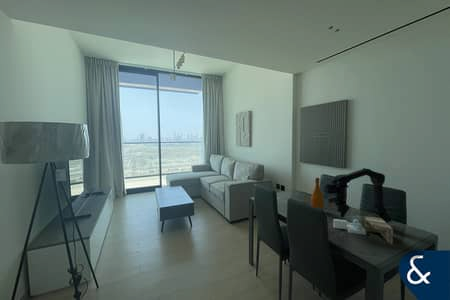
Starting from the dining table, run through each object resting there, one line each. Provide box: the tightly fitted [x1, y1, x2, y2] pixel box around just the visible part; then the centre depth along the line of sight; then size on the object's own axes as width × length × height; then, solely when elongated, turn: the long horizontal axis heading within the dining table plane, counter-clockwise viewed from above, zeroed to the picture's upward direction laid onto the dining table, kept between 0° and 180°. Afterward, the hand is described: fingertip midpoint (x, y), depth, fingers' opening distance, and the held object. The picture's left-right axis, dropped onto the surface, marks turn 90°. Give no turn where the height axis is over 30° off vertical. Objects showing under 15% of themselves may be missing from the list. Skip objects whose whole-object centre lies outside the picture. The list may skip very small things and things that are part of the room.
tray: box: [333, 218, 367, 236], centre depth 135 cm, size 12×18×6 cm, turn 71°
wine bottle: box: [310, 177, 324, 211], centre depth 167 cm, size 10×10×30 cm
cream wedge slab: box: [364, 216, 394, 246], centre depth 123 cm, size 16×9×10 cm, turn 161°
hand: (340, 214), depth 136 cm, fingers open, 9 cm apart
